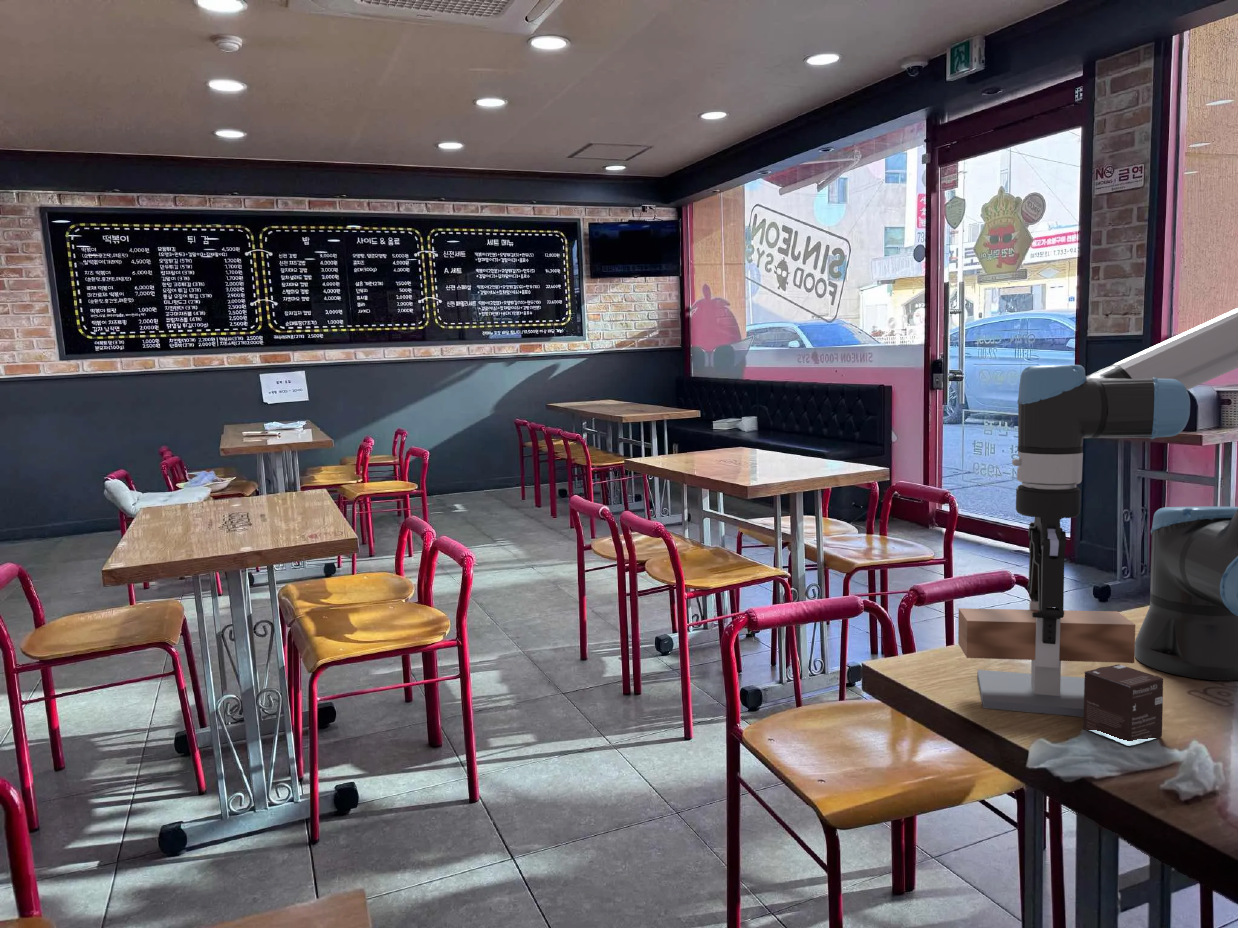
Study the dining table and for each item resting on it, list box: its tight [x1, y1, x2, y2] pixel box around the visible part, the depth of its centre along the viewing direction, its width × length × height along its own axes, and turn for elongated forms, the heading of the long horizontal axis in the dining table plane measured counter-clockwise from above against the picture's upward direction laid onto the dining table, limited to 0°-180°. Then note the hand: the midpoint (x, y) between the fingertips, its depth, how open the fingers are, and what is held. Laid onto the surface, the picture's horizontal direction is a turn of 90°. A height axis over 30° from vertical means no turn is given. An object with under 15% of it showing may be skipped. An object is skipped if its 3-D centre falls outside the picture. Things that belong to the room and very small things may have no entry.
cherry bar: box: [957, 607, 1136, 664], centre depth 114 cm, size 20×6×5 cm, turn 79°
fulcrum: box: [976, 660, 1085, 718], centre depth 114 cm, size 16×12×6 cm
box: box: [1082, 664, 1164, 741], centre depth 102 cm, size 6×6×7 cm
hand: (1043, 656), depth 114 cm, fingers closed on cherry bar, 6 cm apart
